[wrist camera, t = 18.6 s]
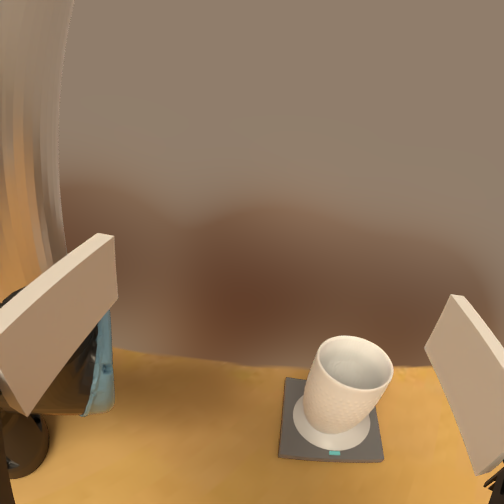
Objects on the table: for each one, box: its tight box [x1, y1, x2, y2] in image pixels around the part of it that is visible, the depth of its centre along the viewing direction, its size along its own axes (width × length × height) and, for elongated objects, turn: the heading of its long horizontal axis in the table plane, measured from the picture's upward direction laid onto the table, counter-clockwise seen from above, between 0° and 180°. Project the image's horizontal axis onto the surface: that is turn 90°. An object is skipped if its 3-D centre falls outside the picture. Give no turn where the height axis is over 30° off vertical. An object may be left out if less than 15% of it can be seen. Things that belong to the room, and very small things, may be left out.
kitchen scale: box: [278, 377, 384, 463], centre depth 42 cm, size 16×16×1 cm
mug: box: [303, 336, 393, 434], centre depth 41 cm, size 15×11×13 cm
